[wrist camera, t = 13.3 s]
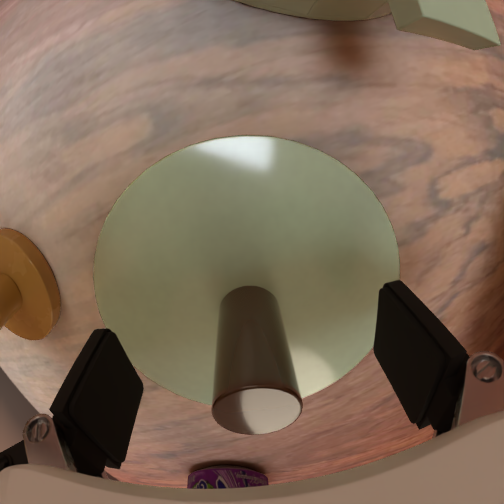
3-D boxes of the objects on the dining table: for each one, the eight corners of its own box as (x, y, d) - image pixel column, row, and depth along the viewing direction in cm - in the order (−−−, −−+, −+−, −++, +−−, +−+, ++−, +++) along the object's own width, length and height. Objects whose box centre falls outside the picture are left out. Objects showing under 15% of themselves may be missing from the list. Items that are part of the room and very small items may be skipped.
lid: (159, 401, 15) (142, 487, 9) (67, 181, 10) (-39, 225, 4) (377, 367, 15) (418, 447, 9) (383, 121, 10) (498, 122, 4)
